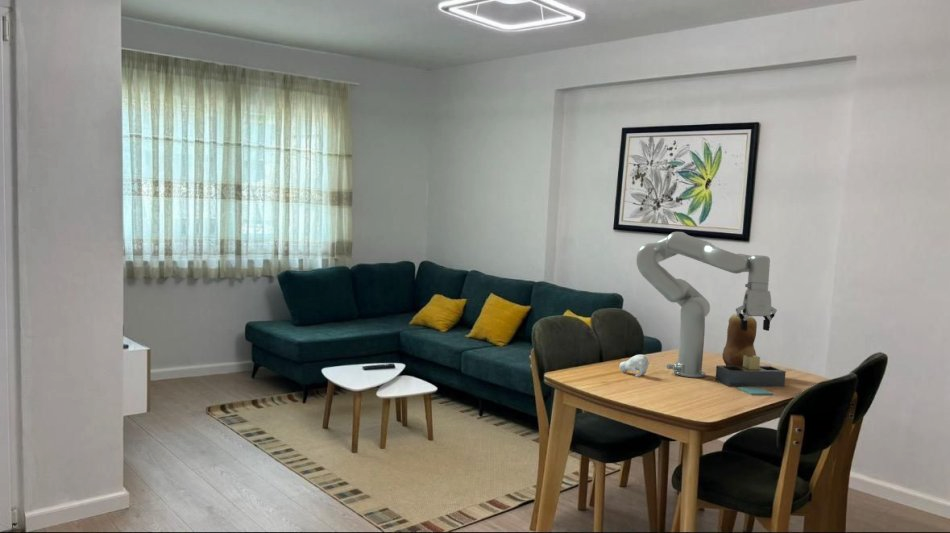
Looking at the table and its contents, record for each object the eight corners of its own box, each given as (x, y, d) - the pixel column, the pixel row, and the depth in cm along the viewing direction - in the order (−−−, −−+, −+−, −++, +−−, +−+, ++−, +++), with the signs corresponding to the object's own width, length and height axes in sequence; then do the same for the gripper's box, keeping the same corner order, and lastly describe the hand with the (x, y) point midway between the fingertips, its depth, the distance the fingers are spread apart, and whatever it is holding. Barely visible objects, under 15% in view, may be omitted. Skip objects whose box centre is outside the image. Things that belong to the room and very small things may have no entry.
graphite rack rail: (729, 386, 278) (730, 371, 278) (715, 380, 288) (716, 365, 288) (784, 386, 283) (785, 371, 283) (769, 380, 293) (770, 365, 293)
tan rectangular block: (747, 384, 283) (750, 357, 282) (741, 382, 287) (743, 354, 287) (757, 384, 284) (760, 357, 283) (751, 382, 288) (753, 354, 287)
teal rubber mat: (751, 395, 266) (751, 393, 266) (737, 388, 275) (737, 387, 275) (773, 394, 268) (773, 393, 268) (758, 388, 277) (758, 387, 277)
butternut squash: (762, 376, 301) (767, 316, 299) (736, 377, 296) (741, 316, 294) (738, 368, 313) (743, 311, 311) (713, 369, 308) (718, 311, 306)
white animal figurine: (643, 356, 285) (616, 354, 292) (643, 377, 285) (616, 375, 292) (650, 354, 290) (623, 352, 297) (650, 375, 290) (623, 372, 297)
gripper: (743, 287, 277) (740, 331, 278) (783, 288, 281) (780, 331, 282) (732, 285, 284) (729, 328, 286) (771, 286, 288) (768, 328, 289)
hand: (754, 330), depth 284 cm, fingers open, 9 cm apart
